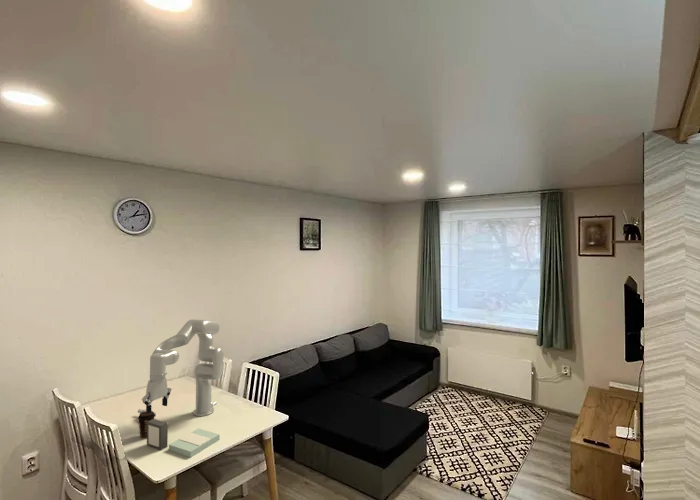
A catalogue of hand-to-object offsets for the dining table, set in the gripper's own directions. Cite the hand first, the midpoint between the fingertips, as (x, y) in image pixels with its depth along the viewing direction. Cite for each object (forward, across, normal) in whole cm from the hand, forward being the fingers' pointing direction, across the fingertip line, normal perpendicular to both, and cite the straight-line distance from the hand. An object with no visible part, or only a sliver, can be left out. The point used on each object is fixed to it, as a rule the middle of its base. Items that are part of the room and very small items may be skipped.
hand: (156, 408), depth 204 cm
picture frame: (+20, -1, 0) cm, 20 cm away
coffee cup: (+20, -6, -15) cm, 26 cm away
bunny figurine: (+20, -21, -35) cm, 46 cm away
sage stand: (+20, -11, +17) cm, 28 cm away
